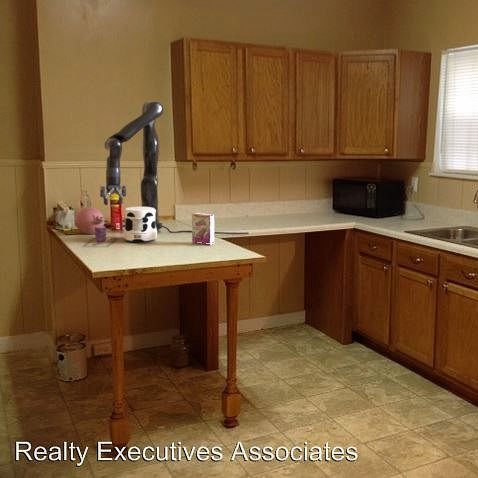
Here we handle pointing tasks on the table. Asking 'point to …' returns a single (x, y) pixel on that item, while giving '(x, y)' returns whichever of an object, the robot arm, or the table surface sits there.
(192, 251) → the table surface
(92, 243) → the brown board with circles
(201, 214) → the candy bar box
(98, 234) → the purple stepped cylinder
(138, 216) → the white black spotted canister
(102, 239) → the dish bottom
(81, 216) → the pink piggy bank
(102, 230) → the dish top
